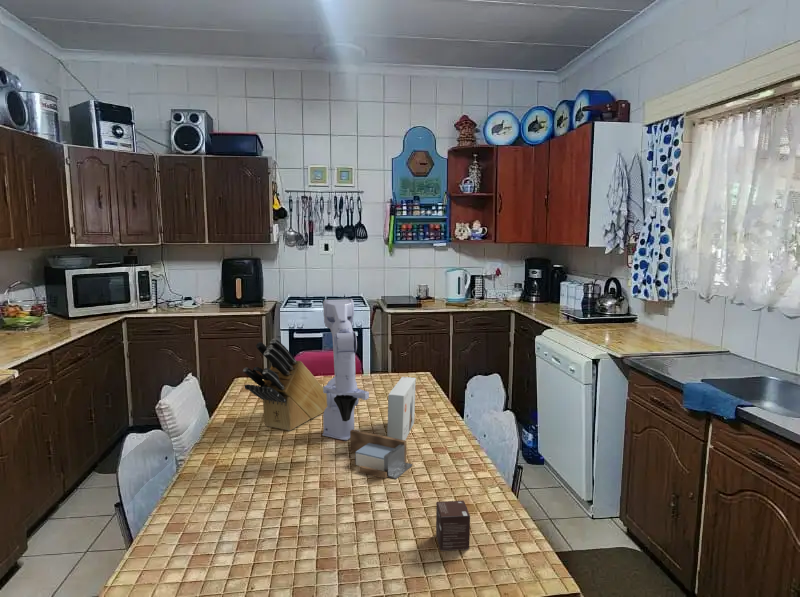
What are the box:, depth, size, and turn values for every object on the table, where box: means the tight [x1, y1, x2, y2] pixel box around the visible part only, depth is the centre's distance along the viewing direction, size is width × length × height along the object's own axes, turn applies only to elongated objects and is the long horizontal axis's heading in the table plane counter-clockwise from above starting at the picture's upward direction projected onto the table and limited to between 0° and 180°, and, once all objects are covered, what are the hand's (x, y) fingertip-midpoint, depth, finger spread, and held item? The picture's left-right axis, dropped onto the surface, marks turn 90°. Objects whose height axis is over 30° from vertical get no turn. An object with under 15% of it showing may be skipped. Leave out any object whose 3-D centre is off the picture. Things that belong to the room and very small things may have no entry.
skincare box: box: [386, 376, 417, 441], centre depth 162 cm, size 21×5×16 cm, turn 168°
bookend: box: [384, 444, 413, 480], centre depth 136 cm, size 4×9×6 cm, turn 151°
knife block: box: [242, 338, 327, 431], centre depth 172 cm, size 11×35×31 cm, turn 153°
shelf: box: [349, 429, 408, 479], centre depth 141 cm, size 18×12×6 cm, turn 61°
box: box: [435, 499, 471, 552], centre depth 104 cm, size 6×6×7 cm
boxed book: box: [355, 443, 394, 471], centre depth 140 cm, size 10×7×4 cm
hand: (346, 420), depth 147 cm, fingers closed
